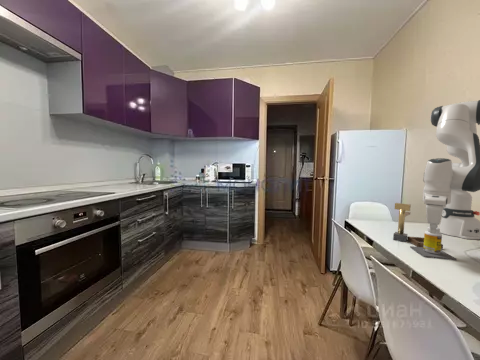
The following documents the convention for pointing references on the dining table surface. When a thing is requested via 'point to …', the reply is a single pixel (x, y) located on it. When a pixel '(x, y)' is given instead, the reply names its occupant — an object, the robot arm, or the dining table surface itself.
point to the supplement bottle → (432, 241)
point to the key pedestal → (400, 237)
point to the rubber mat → (426, 254)
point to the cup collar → (418, 241)
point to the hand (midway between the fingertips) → (433, 230)
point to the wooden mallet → (402, 215)
